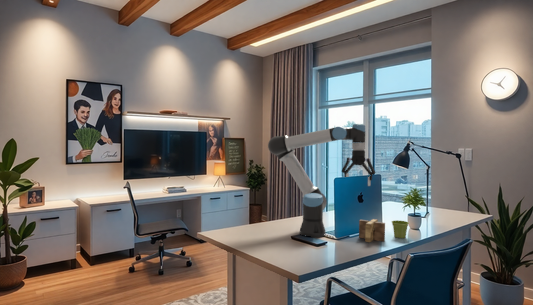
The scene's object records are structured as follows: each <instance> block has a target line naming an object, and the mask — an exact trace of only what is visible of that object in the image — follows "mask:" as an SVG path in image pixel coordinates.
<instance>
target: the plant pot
mask: <svg viewBox="0 0 533 305" xmlns="http://www.w3.org/2000/svg"><path fill="white" fill-rule="evenodd" d="M391 224H392V230H393V236H394V238H398V239H405V238H406V237H407V236H406V235H407V230H408V227H409V225H410V222H409V221H406V220H391Z"/></svg>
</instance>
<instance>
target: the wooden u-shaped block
mask: <svg viewBox="0 0 533 305" xmlns="http://www.w3.org/2000/svg"><path fill="white" fill-rule="evenodd" d="M369 221H370V220H366V219H359V221H358V238H360V239H365V233H366V223H367V222H369ZM385 231H386V223H385V222H381V221H378V222H375V231H373V241H378V242H385V241H386V240H385V239H386V237H385V236H386V232H385Z"/></svg>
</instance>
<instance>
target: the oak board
mask: <svg viewBox="0 0 533 305" xmlns="http://www.w3.org/2000/svg"><path fill="white" fill-rule="evenodd" d="M368 221H369V222H367V223H366V233H365V238H364V239H365V240H364V241H365V242H367V243H372V242H373V241H374V240H373V231H375V222H379V220H378V219H376V218H372V219H370V220H368Z"/></svg>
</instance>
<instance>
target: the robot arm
mask: <svg viewBox="0 0 533 305" xmlns="http://www.w3.org/2000/svg"><path fill="white" fill-rule="evenodd" d="M344 140H345V141H351V142H352V145H351V148H352V150H351V157H346V161H345V163H344V165H343V167H342V169H341V173H343V174H344V177H349V178H350V176H349V175H350V174H349V171H350V170H351V169H352V168H353V167H354V166H362V167H363V168H364V170H365V171H366V172H367V174H368V175H371V176H369V177H368V176H367V187H371V181H373V175H375V174H376V170H375V167H374V166H373V164H372V161H371V158H370V157H368V158H366V151H365V149H366V125H365V124H363V123H353V124H352V126H351V127H345V126H344V127H343V126H341V125H340V126H335V127H331V128H326V129H320V130H317V131H312V132H305V133H301V134H296V135H289V136H288V135H281V136H280V135H278V136H277V135H275V136H273V137H271V138H270V139H269V141H268V143H267V148H268V150H269V152H270V153H271V154H272V155H275V156H276V158H277V159H278V160H279V161H280V162H283V164H284V165H285V167H286V169H287V170H288V172H289V173H290V175H291V177H292V178H293V180H294V181H295V184H296V185H297V187H298V188H299V190H300V192H302V197H301V198H302V221H301V225H300V229H299V234H301V235H300V236H302V235H306V236H311V237H310V238H321V237H325V236H324V234H325V235H326V228H325V224H324V222H323V219H324V215H323V214H324V213H323V212H324V210H325V208H326V207H327V205H328V203H327V202H328V199H327V197H326V196H325V194H324V193H323V192H322V191H321V190H320V189H319V187H318V186H315V185H314V184H313V182H312V180H311V179H310V176H308V174H307V172H306V171H305V169H304V168H303V166H302V165H301V163H300V161H299V160H298V158H297V156H296V155H295V152H296V150H295V149H298V148H305V147H308V146H314V145H315V146H316V145H318V144H319V145H320V144H326V143H330V142H335V141H344ZM350 162H351V164H350ZM365 162H367V164H366V163H365ZM349 164H350V165H349ZM306 236H305V237H306Z"/></svg>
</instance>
